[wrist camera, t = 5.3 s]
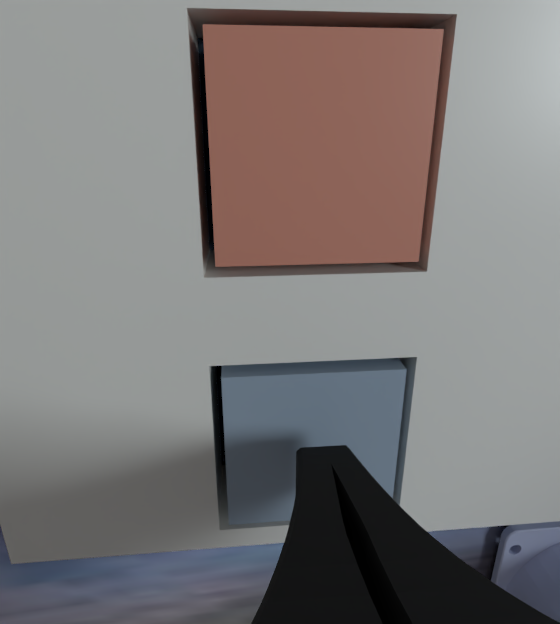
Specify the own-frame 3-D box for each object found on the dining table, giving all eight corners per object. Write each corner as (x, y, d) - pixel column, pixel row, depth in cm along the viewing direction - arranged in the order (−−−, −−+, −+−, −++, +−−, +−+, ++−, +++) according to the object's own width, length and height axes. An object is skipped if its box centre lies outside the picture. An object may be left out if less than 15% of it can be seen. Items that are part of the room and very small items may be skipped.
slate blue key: (366, 453, 17) (391, 513, 14) (229, 461, 16) (229, 524, 14) (376, 328, 15) (406, 369, 12) (223, 333, 15) (221, 378, 12)
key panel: (525, 460, 18) (578, 519, 15) (49, 491, 16) (11, 564, 14) (626, 16, 13) (737, -18, 10) (-63, 0, 11) (-162, -46, 8)
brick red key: (383, 237, 14) (418, 261, 11) (219, 241, 14) (215, 266, 11) (397, 52, 12) (443, 29, 10) (209, 50, 12) (202, 24, 9)
